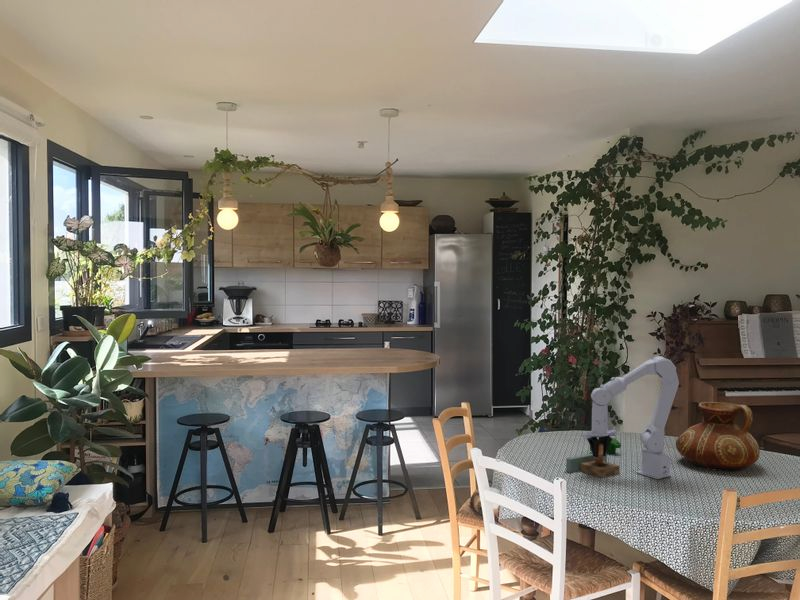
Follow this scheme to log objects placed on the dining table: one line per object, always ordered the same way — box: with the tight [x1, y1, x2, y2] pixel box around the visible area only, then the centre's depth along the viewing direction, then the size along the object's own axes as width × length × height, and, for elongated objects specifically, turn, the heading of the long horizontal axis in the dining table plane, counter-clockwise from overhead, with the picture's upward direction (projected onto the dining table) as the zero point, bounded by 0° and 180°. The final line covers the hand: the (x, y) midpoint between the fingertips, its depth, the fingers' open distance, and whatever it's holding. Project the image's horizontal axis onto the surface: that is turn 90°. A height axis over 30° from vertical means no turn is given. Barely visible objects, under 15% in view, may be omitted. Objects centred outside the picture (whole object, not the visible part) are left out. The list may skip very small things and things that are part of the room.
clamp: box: [589, 437, 622, 455], centre depth 274 cm, size 12×6×9 cm, turn 99°
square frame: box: [579, 460, 620, 479], centre depth 247 cm, size 10×10×3 cm
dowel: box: [595, 443, 603, 464], centre depth 247 cm, size 3×3×7 cm
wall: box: [565, 452, 608, 474], centre depth 253 cm, size 2×20×5 cm, turn 122°
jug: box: [675, 401, 761, 472], centre depth 259 cm, size 30×30×25 cm
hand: (599, 456), depth 247 cm, fingers closed on dowel, 3 cm apart
